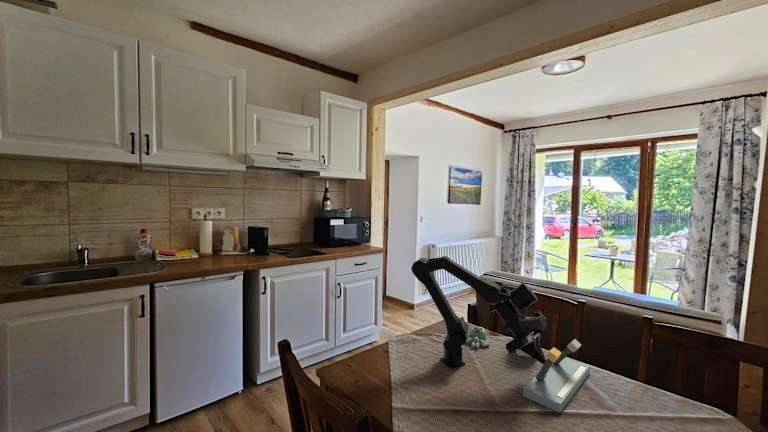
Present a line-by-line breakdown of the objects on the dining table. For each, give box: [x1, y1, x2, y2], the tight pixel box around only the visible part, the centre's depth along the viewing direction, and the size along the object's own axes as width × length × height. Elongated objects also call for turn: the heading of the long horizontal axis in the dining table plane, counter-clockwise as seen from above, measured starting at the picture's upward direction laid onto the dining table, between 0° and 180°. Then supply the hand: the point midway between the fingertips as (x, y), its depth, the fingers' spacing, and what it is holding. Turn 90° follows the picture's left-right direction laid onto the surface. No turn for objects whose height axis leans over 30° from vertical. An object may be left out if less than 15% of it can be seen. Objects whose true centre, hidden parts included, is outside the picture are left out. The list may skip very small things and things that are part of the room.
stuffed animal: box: [465, 325, 492, 349], centre depth 128 cm, size 11×7×12 cm
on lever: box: [553, 338, 582, 366], centre depth 106 cm, size 2×4×11 cm
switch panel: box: [522, 357, 591, 413], centre depth 101 cm, size 10×30×3 cm, turn 134°
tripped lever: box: [535, 347, 562, 382], centre depth 97 cm, size 2×4×11 cm, turn 134°
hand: (545, 363), depth 97 cm, fingers closed, pressing on tripped lever
